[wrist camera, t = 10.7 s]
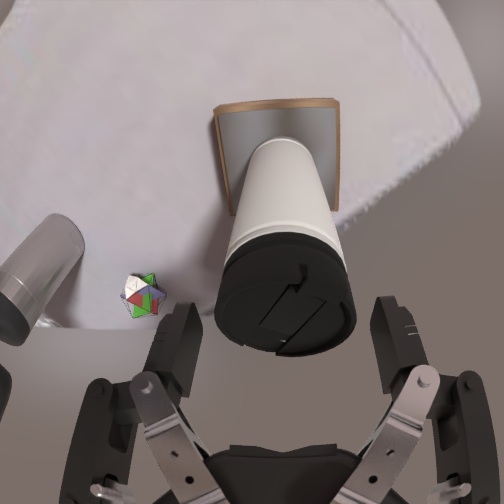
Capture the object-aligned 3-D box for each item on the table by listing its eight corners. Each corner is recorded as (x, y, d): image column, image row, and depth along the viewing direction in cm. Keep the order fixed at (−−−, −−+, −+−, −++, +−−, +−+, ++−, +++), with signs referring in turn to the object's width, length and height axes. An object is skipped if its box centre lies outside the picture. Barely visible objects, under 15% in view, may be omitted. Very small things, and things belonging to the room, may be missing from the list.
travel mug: (325, 149, 26) (395, 307, 10) (296, 202, 30) (309, 382, 14) (266, 121, 25) (245, 251, 9) (240, 179, 29) (194, 352, 13)
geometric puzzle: (181, 307, 44) (149, 319, 37) (151, 316, 47) (119, 327, 39) (167, 264, 45) (133, 269, 37) (138, 277, 47) (105, 282, 40)
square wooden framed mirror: (234, 201, 35) (229, 218, 32) (219, 104, 28) (212, 110, 24) (333, 197, 33) (339, 213, 30) (332, 98, 26) (340, 102, 23)
